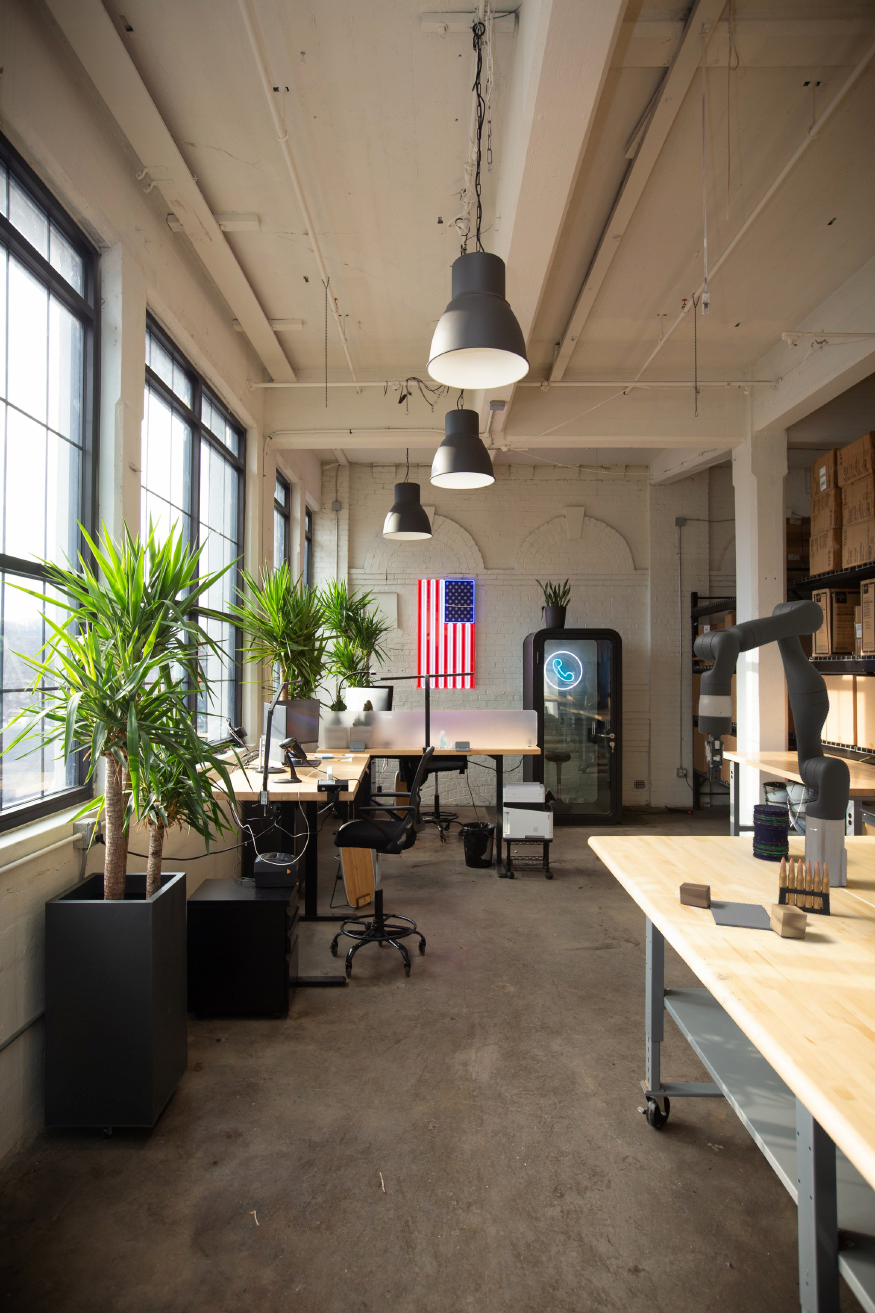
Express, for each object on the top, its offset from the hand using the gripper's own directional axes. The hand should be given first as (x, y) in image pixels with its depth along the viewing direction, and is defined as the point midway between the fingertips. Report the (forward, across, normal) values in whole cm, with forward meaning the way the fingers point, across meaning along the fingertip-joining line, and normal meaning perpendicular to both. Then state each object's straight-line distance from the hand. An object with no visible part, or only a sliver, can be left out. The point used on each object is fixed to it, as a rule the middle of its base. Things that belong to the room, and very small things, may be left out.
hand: (713, 780), depth 172 cm
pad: (+29, -10, -5) cm, 31 cm away
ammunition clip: (+29, -1, -20) cm, 35 cm away
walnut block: (+28, -5, +4) cm, 29 cm away
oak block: (+28, -18, -14) cm, 36 cm away
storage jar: (+29, +48, -20) cm, 59 cm away
